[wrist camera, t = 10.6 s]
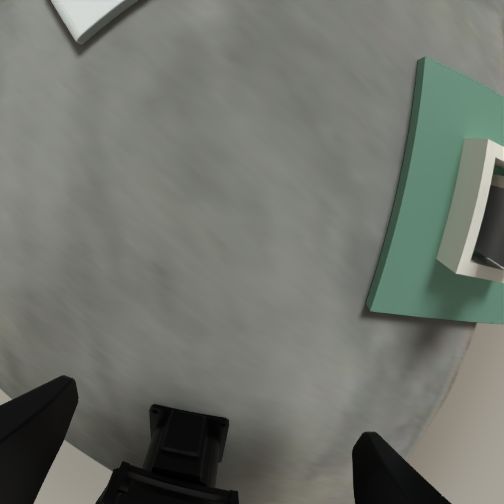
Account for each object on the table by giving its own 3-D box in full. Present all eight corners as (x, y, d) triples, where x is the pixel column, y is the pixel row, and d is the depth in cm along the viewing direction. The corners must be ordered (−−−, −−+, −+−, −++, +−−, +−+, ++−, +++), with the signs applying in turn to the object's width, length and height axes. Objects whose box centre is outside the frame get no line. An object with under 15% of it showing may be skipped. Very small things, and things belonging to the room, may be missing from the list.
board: (496, 318, 20) (519, 339, 17) (365, 303, 20) (382, 332, 17) (545, 130, 15) (575, 133, 12) (418, 59, 15) (446, 47, 12)
